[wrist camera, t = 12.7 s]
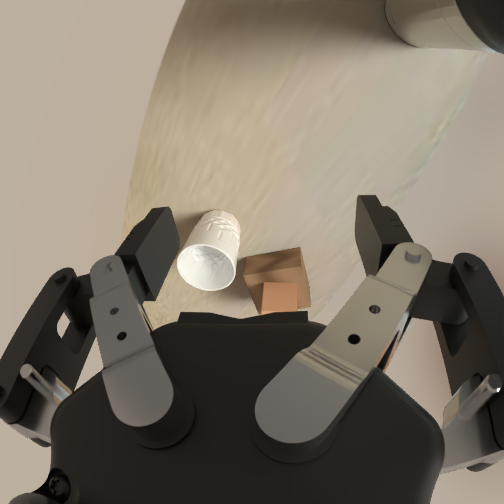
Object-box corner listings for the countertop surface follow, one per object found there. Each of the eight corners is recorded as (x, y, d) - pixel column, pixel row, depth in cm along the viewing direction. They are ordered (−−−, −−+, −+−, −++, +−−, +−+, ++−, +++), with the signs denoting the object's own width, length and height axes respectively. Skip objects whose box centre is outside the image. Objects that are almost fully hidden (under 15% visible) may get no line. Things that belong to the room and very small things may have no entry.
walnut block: (300, 246, 48) (301, 265, 44) (309, 286, 52) (310, 306, 48) (246, 255, 50) (243, 275, 46) (260, 294, 55) (258, 314, 51)
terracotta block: (296, 283, 46) (297, 311, 41) (294, 305, 49) (294, 333, 44) (264, 282, 46) (261, 310, 41) (264, 304, 49) (261, 332, 44)
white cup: (249, 245, 48) (242, 288, 40) (203, 251, 50) (188, 293, 42) (236, 201, 44) (225, 240, 36) (188, 211, 45) (167, 249, 37)
